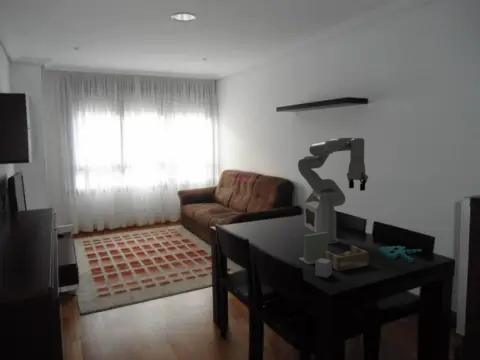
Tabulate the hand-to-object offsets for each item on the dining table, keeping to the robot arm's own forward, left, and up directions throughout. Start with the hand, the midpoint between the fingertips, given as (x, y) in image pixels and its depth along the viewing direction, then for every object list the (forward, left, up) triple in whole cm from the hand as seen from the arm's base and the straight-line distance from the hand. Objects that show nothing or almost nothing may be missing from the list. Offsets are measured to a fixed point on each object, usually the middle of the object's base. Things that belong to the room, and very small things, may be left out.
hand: (356, 189), depth 214 cm
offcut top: (+16, -19, -32) cm, 41 cm away
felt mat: (+3, -30, -36) cm, 47 cm away
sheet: (+3, -30, -36) cm, 47 cm away
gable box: (-51, +8, -37) cm, 63 cm away
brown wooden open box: (+16, -20, -36) cm, 44 cm away
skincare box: (+23, -39, -37) cm, 58 cm away
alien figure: (+16, +16, -37) cm, 43 cm away
